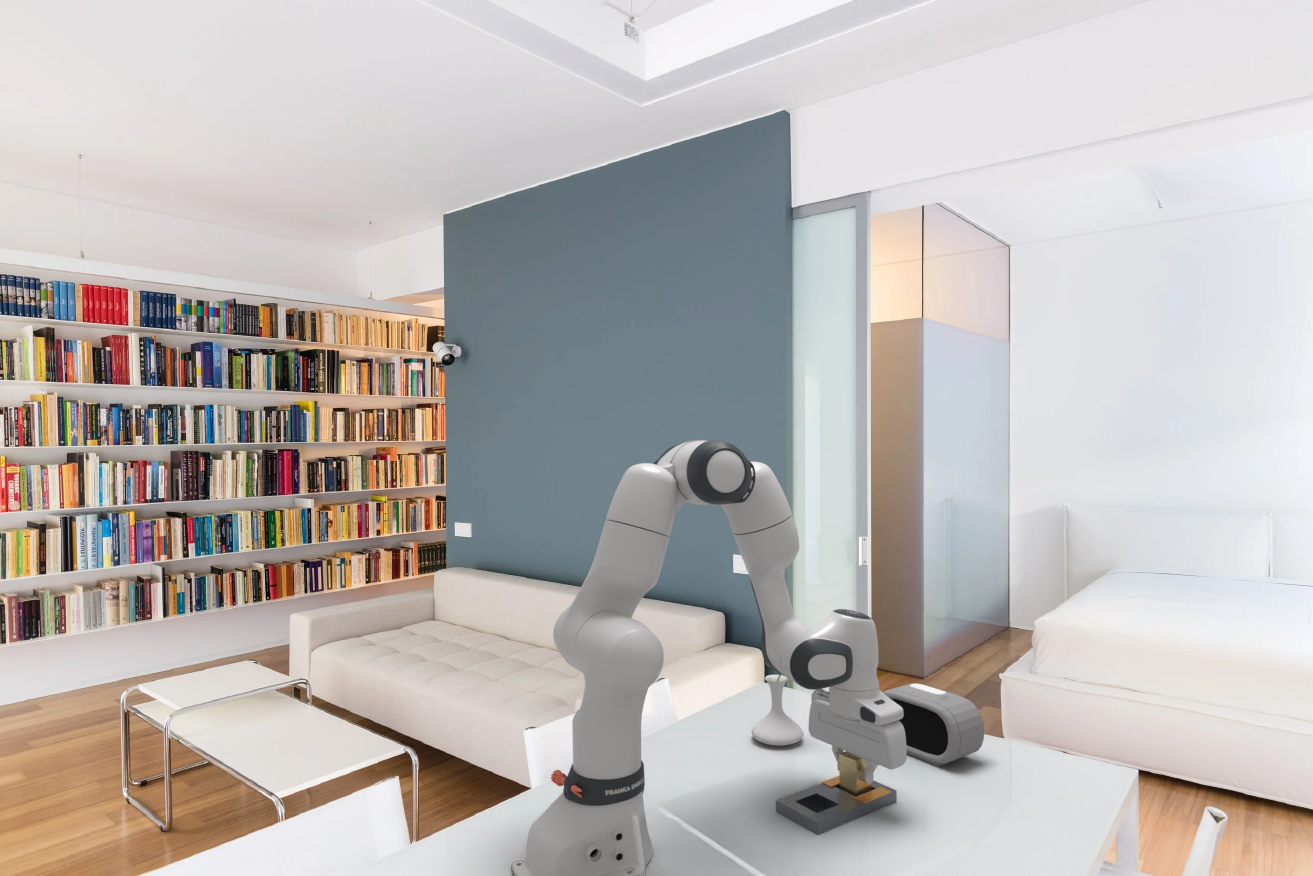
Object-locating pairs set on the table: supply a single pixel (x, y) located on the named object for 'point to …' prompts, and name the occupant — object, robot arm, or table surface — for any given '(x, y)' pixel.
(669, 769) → the table surface
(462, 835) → the table surface
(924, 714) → the alarm clock
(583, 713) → the robot arm
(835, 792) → the rail
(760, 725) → the flower in vase
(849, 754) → the brass block
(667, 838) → the table surface
